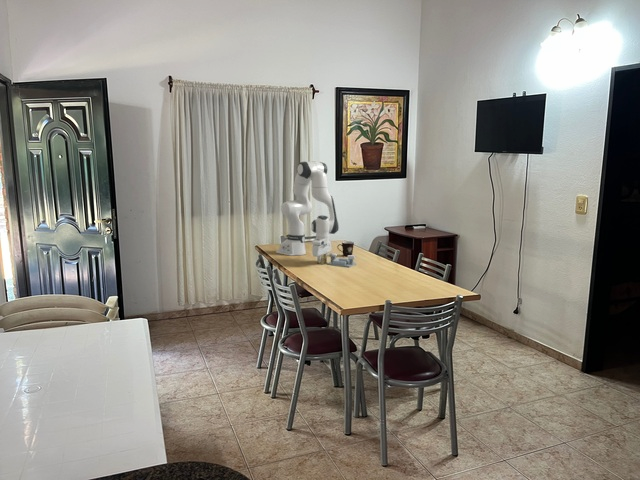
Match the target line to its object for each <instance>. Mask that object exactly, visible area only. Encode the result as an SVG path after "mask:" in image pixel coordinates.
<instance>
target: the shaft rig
mask: <svg viewBox="0 0 640 480" xmlns="http://www.w3.org/2000/svg"><path fill="white" fill-rule="evenodd" d="M328 254H329V257H330V261H329V262H327V263H326V264H327V265H329V266H335V267H336V266H337V267H342V266H343V267H344V268H351V267H353V265H354V266H355V265H357V262H354V260H355V259H356V256H355V254H354V255H353V254H352V255H348V257H347V258H341V257H338V254H337V253H334V252H329V253H328ZM337 257H338V258H337ZM343 267H342V268H343Z"/></svg>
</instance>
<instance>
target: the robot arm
mask: <svg viewBox="0 0 640 480" xmlns="http://www.w3.org/2000/svg"><path fill="white" fill-rule="evenodd" d="M296 171H297V173H296V174H295V178H294V182H293V187H292V188H293V189H292V193H293V194H294V196H295V197H296V198H295V199H294V200H287V201H285V202H282V204H281V207H280V211H281V214H282V215H284V216H285V218H286V220H287V222H288V234H287V235H285V237H286V239H285V240H284V241H283V242H281V243H280V244H279V248H278V249H277V250H276V251H275V254H280V255H285V256H291V257H292V256H302V255H306V254H307V252H306V246H305V240H306V236H305V235H306V233H305V224H304V222H303V221H302V220H301V219H300V216H304V215H308V214H310V213H311V212H312V210H313V204H312V202H311V201H310V199H309V191H311V195H312V198H314V200H315V201H317V202H320V203H323V204H325V205H326V206H327V208H328V212H329V213H328V214H329V216H327V215H323V214H322V215H318V216H317V217H316V219H314V220H312V222H311V231H312V232H313V233H314V234H315V238H314V239H313V240H312V241H311V244H312V247H311V248H312V250H311V251H312V253H311V254H312V256H313V257H316V258H317V260H318V262H321V261H322V259H321V255H326V256H327V255H328V254H330V253H332V242H331V239H330V234H333V235H335V234H336V233H337V232H338V231H339V228H340V227H339V222H338V218H337V217H338V216H337V213H336V211H337V210H336V206H335V201H334V198H333V195H331V194H330V192H329V189H328V188H329V187H328V183H329V182H328V178H327V176H328V175H327V173H328V166H327V164H326V163H325V162H321V161H301V162H299V163H298V164H297V167H296ZM310 184H311V185H310ZM310 186H311V187H310ZM310 188H311V190H310ZM327 257H328V256H327Z"/></svg>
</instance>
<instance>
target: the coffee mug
mask: <svg viewBox="0 0 640 480" xmlns="http://www.w3.org/2000/svg"><path fill="white" fill-rule="evenodd" d="M354 244H355V243H354V241H350V240H349V241H348V240H344V241H343V240H342V242H341V244H340V243H339V244H338V245H337V247H336V248H337V249H338V250H339V252H340V253H342V256H343V257H346V258H348V255H353V253H354V252H353V251H354V246H355V245H354ZM339 246H341V247H342V248H341V249H339Z"/></svg>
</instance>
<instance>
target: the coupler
mask: <svg viewBox="0 0 640 480" xmlns="http://www.w3.org/2000/svg"><path fill="white" fill-rule="evenodd" d="M327 257H328V256H326V255H321V259H322V261H321V262H318V259H317V262H316V263H317V264H319V265H325V264H327V263H328V261H327Z"/></svg>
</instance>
